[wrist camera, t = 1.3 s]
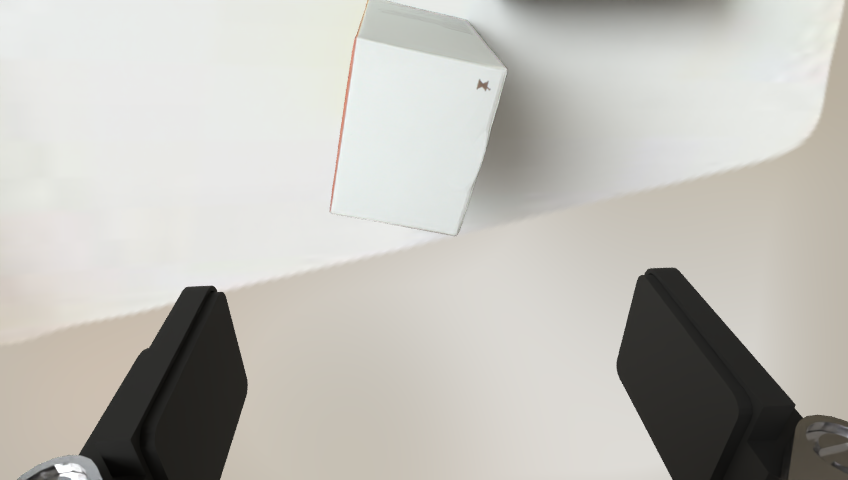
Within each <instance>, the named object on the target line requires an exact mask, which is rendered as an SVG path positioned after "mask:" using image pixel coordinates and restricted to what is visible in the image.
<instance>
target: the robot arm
mask: <svg viewBox="0 0 848 480" xmlns="http://www.w3.org/2000/svg"><path fill="white" fill-rule="evenodd" d="M617 372H618V375H619V378H620V380H621V382H622V384H623V386H624V387H625V389H626V391H627V393H628V395H629V397H630V399H631V401H632V403H633V405H634V407H635V408H636V410H637V412H638V414H639V416H640V418H641V420H642V422H643V424H644V426H645V428H646V430H647V431H648V433H649V435H650V437H651V439H652V441H653V443H654V445H655V446H656V449H657V451H658V452H659V454H660V456H661V458H662V460H663V462H664V464H665V466H666V468H667V470H668V472H669V474H670V475H671V477H672V479H673V480H848V422H847V421H844V420H841V419H838V418H835V417H832V416H824V415H813V416H806V417H805V418H803V417H802V416H801V415H800V414H799V413H798V412H797V410H796V409H795V408H794V407H795V404H794V403H793V401H792V400H791V399H790V398H789V397H788V396H787V394H786V393H785V392H784V391H783V390H782V389H781V387H780V386H779V385H778V384H777V383H776V382H775V381H774V379H773V378H772V377H771V376H770V375H769V374H768V373H767V372H766V370H765V369H764V368H763V367H762V366H761V364H760V363H759V362H758V361H757V360H756V359H755V358H754V356H753V355H752V354H751V353H750V352H749V351H748V349H747V348H746V347H745V346H744V345H743V344H742V343H741V341H740V340H739V339H738V338H737V337H736V336H735V335H734V333H733V332H732V331H731V330H730V329H729V328H728V326H726V324H725V323H724V322H723V321H722V320H721V318H720V317H719V316H718V315H717V314H716V313H715V312H714V310H713V309H712V308H711V307H710V306H709V305H708V304H707V303H706V301H705V300H704V299H703V298H702V297H701V295H700V294H699V293H698V292H697V291H696V290H695V289H694V287H693V286H692V285H691V284H690V283H689V282H688V281H687V279H686V278H685V277H684V276H683V275H682V274H681V273H680V271H679V270H677V269H676V268H653V269H652V268H651V269H648V270H647V271H646V272H645V275H641V276H639V278H638V280H637V283H636V287H635V291H634V295H633V299H632V303H631V307H630V311H629V315H628V319H627V323H626V327H625V331H624V335H623V339H622V343H621V347H620V351H619V355H618V358H617ZM247 386H248V384H247V377H246V373H245V369H244V365H243V361H242V358H241V353H240V350H239V346H238V342H237V338H236V334H235V330H234V327H233V322H232V319H231V315H230V311H229V307H228V303H227V299H226V296H225V294H224V293H223V292H217V290H216V288H215V287H214V286H195V287H186V288H185V289H184V290H183V291H182V293H181V295H180V296H179V298H178V300H177V301H176V303H175V305H174V307H173V308H172V310H171V312H170V313H169V315H168V317H167V318H166V320H165V322H164V324H163V325H162V327H161V329H160V330H159V332H158V334H157V336H156V337H155V339H154V341H153V342H152V344H151V346H150V347H149V348H147V349H145V350H143V351H142V352H141V353H140V355H139V356H138V358H137V359H136V361H135V362H134V364H133V366H132V368H131V369H130V371H129V373H128V374H127V376H126V377H125V379H124V381H123V382H122V384H121V386H120V388H119V389H118V391H117V392H116V394H115V396H114V397H113V399H112V401H111V402H110V404H109V406H108V407H107V409H106V411H105V412H104V414H103V416H102V417H101V419H100V421H99V422H98V424H97V426H96V427H95V429H94V431H93V432H92V434H91V435H90V437H89V439H88V440H87V442H86V444H85V446H84V447H83V449H82V450H81V452H80V454H79V455H67V456H62V457H58V458H54V459H51V460H49V461H46V462H44V463H41V464H39V465H37V466H35V467H34V468H32V469H31V470H29V471H28V472H26V473H24V474H23V475H21V476H20V477H19V478H18V479H17V480H220V478H221V475H222V471H223V468H224V465H225V462H226V459H227V456H228V452H229V449H230V446H231V443H232V440H233V436H234V433H235V430H236V427H237V424H238V421H239V417H240V414H241V411H242V408H243V405H244V401H245V398H246V395H247Z"/></svg>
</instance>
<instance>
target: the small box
mask: <svg viewBox="0 0 848 480" xmlns="http://www.w3.org/2000/svg"><path fill="white" fill-rule="evenodd" d="M506 76H507V68H506V67H505V66H504V64H503V63H502V62H501V61H500V60H499V58H498V57H497V56H496V55H495V54H494V52H493V51H492V50H491V49H490V48H489V46H488V45H487V44H486V43H485V41H484V40H483V39H482V38H481V36H480V35H479V34H478V33H477V31H476V30H475V29H474V28H473V27H472V26H471V24H470V23H469V22H468V21H467V20H464V19H460V18H455V17H451V16H447V15H443V14H439V13H435V12H431V11H426V10H422V9H418V8H414V7H410V6H406V5H402V4H398V3H394V2H390V1H386V0H368V1H367V4H366V8H365V11H364V14H363V17H362V20H361V23H360V26H359V29H358V32H357V35H356V37H355V40H354V45H353V50H352V57H351V63H350V70H349V76H348V82H347V89H346V96H345V103H344V110H343V117H342V124H341V131H340V138H339V146H338V153H337V160H336V168H335V175H334V181H333V188H332V196H331V204H330V213H331V214H335V215H341V216H347V217H353V218H359V219H365V220H371V221H376V222H382V223H387V224H393V225H398V226H403V227H409V228H414V229H420V230H425V231H430V232H436V233H441V234H446V235H451V236H456V235H457V234H458V233H459V231H460V228H461V225H462V222H463V219H464V216H465V213H466V210H467V207H468V204H469V201H470V197H471V194H472V191H473V188H474V185H475V182H476V179H477V176H478V173H479V170H480V168H481V165H482V162H483V159H484V155H485V152H486V148H487V145H488V141H489V137H490V132H491V128H492V124H493V120H494V117H495V113H496V110H497V107H498V103H499V100H500V96H501V92H502V89H503V86H504V82H505V79H506Z"/></svg>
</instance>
